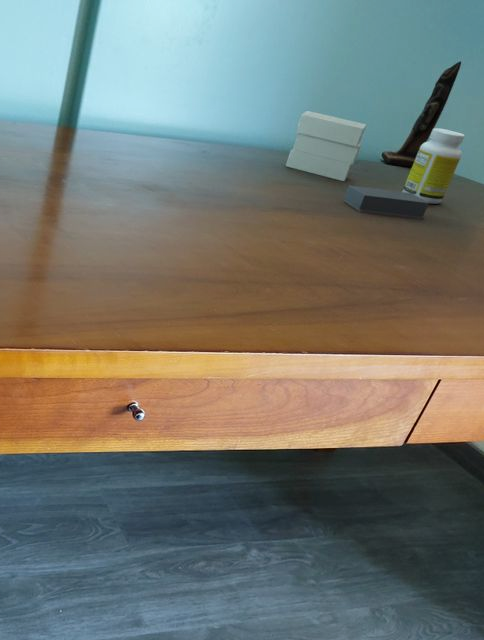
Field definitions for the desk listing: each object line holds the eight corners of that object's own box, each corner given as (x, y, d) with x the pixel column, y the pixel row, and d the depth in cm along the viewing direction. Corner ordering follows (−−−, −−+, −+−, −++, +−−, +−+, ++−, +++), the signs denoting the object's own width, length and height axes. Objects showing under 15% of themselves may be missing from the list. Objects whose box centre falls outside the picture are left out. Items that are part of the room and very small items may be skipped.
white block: (359, 142, 125) (366, 124, 123) (356, 146, 120) (363, 128, 119) (301, 128, 128) (307, 110, 127) (295, 132, 124) (301, 114, 122)
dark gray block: (402, 219, 108) (413, 193, 106) (419, 230, 104) (431, 203, 102) (338, 211, 106) (348, 185, 104) (353, 222, 102) (364, 195, 100)
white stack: (348, 177, 127) (361, 143, 124) (346, 182, 124) (359, 146, 121) (289, 162, 131) (301, 128, 128) (285, 166, 127) (296, 131, 124)
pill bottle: (445, 202, 122) (474, 135, 116) (434, 207, 117) (464, 138, 112) (407, 190, 125) (434, 125, 120) (395, 195, 121) (423, 127, 115)
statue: (378, 158, 146) (419, 53, 137) (413, 164, 146) (457, 59, 137) (385, 164, 143) (429, 56, 133) (421, 170, 143) (467, 62, 133)
